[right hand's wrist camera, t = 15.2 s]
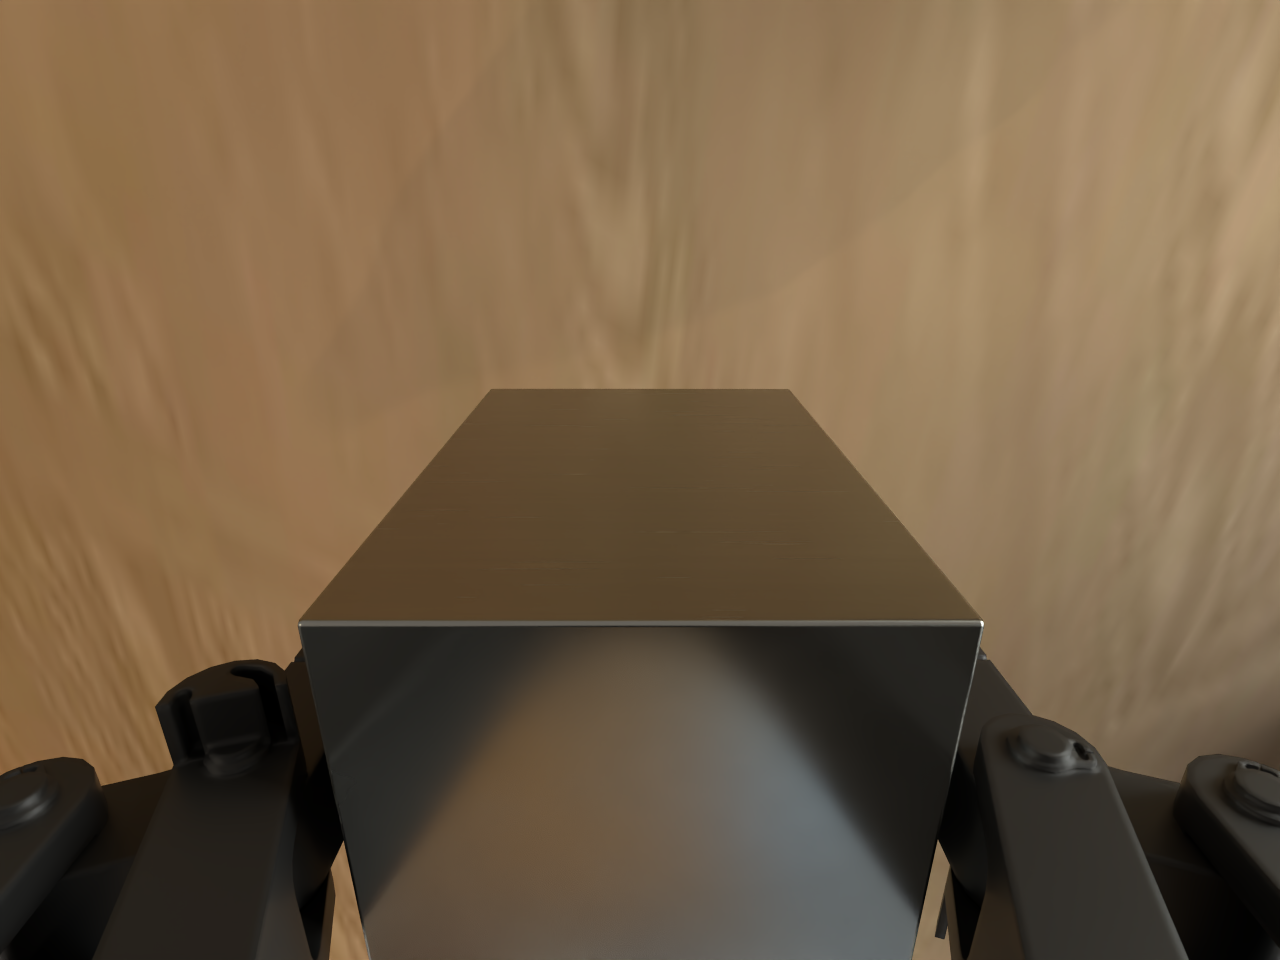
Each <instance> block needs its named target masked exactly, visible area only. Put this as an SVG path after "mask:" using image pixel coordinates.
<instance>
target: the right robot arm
mask: <svg viewBox="0 0 1280 960" xmlns="http://www.w3.org/2000/svg"><path fill="white" fill-rule="evenodd" d="M155 708H156V711H157V714H158V718H159V721H160V724H161V727H162V730H163V733H164V736H165V739H166V742H167V746H168V749H169V752H170V755H171V758H172V761H173V764H174V766H173V768H172V769H171V770H168V771H164V772H161V773H157V774H153V775H148V776H144V777H139V778H135V779H130V780H126V781H122V782H117V783H113V784H108V785H104V786H101V785H100V782H99V780H98V777H97V774H96V772H95V769H94V767H93V766H91V765H90V764H89V763H87V762H86V761H85V760H83V759H77V758H68V757H60V758H54V759H48V760H42V761H37V762H34V763H31V764H28V765H24V766H22V767H18V768H16V769H13V770H11V771H8V772H6V773H4V774H3V775H1V776H0V960H329V953H330V943H331V934H332V924H333V914H334V905H335V889H334V882H333V877H332V872H331V866H332V864H333V862H334V860H335V857H336V855H337V853H338V851H339V849H340V847H341V845H342V843H343V840H344V839H343V835H342V830H341V825H340V821H339V816H338V811H337V807H336V802H335V797H334V793H333V788H332V783H331V779H330V774H329V769H328V765H327V760H326V755H325V751H324V746H323V741H322V737H321V732H320V727H319V723H318V718H317V713H316V709H315V704H314V699H313V695H312V690H311V685H310V681H309V676H308V671H307V667H306V662H305V657H304V653H303V648H302V649H301V650H300V651H299V653H298V654H297V655H296V657H295V661H294V662H291V663H290V664H289V666H288V667H287V668H286V670H285V671H284V670H283V669H282V668H280V667H279V666H278V665H277V664H276V663H273V662H268V661H263V660H258V659H256V660H240V661H233V662H229V663H225V664H221V665H217V666H213V667H210V668H208V669H206V670H203V671H201V672H199V673H197V674H194V675H192V676H190V677H188V678H186V679H185V680H183V681H182V682H180V683H179V684H178V685H176V686H175V687H173V688H172V689H170V690H169V691H168V692H167V693H166V694H165V695H164V696H163V698H162V699H161V700H160V701H159V703H158V704H157V705H156V706H155ZM938 840H939V842H940V844H941V847H942V849H943V851H944V853H945V855H946V857H947V859H948V861H949V864H950V868H949V872H948V877H947V881H946V885H945V890H944V894H943V898H942V903H941V907H940V912H939V916H938V920H937V926H936V933H935V937H937V938H941V939H945V935H946V930H947V926H948V932H949V941H950V951H951V960H1280V772H1279V771H1278V770H1276V769H1273V768H1271V767H1268V766H1266V765H1263V764H1259V763H1258V762H1254V761H1251V760H1248V759H1245V758H1239V757H1233V756H1227V755H1221V754H1215V755H1206V756H1198V757H1197V758H1196V759H1195V760H1193V761H1192V762H1191V763H1189V764H1188V765H1187V768H1186V771H1185V773H1184V776H1183V779H1182V781H1181V783H1176V782H1172V781H1167V780H1163V779H1159V778H1154V777H1150V776H1145V775H1141V774H1136V773H1132V772H1127V771H1123V770H1119V769H1116V768H1112V767H1109V766H1107V764H1106V763H1105V761H1104V760H1103V759H1102V757H1101V756H1100V754H1099V753H1098V751H1097V750H1096V748H1095V747H1093V746H1092V745H1091V744H1090V743H1088V742H1087V741H1086V740H1085V739H1083V738H1082V737H1081V736H1080V735H1078V734H1077V733H1076V732H1074V731H1072V730H1070V729H1068V728H1066V727H1064V726H1062V725H1060V724H1058V723H1056V722H1054V721H1051V720H1047V719H1044V718H1040V717H1037V716H1033V715H1032V714H1031V712H1030V711H1029V710H1028V708H1027V707H1026V706H1025V705H1024V703H1023V702H1022V701H1021V699H1020V698H1019V697H1018V696H1017V694H1016V693H1015V692H1014V690H1013V689H1012V688H1011V687H1010V685H1009V684H1008V683H1007V681H1006V680H1005V679H1004V678H1003V676H1002V675H1001V674H1000V672H999V671H998V670H997V668H996V667H995V666H994V665H993V663H992V662H991V661H990V660H987V658H986V654H985V653H984V652H983V650H982V649H981V648H980V647H979V652H978V656H977V661H976V665H975V670H974V675H973V679H972V684H971V688H970V693H969V698H968V702H967V707H966V712H965V716H964V721H963V725H962V730H961V735H960V739H959V744H958V748H957V753H956V758H955V762H954V767H953V771H952V776H951V781H950V785H949V790H948V794H947V799H946V804H945V808H944V813H943V817H942V822H941V827H940V831H939V836H938Z"/></svg>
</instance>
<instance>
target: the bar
mask: <svg viewBox="0 0 1280 960" xmlns="http://www.w3.org/2000/svg"><path fill="white" fill-rule="evenodd" d="M298 629H299V634H300V639H301V643H302V648H303V653H304V657H305V662H306V667H307V671H308V676H309V681H310V685H311V690H312V695H313V699H314V704H315V709H316V713H317V718H318V723H319V727H320V732H321V737H322V741H323V746H324V751H325V755H326V760H327V765H328V769H329V774H330V779H331V783H332V788H333V793H334V797H335V802H336V807H337V811H338V816H339V821H340V825H341V830H342V835H343V839H344V844H345V849H346V854H347V858H348V863H349V868H350V872H351V877H352V882H353V886H354V891H355V896H356V900H357V905H358V910H359V914H360V919H361V924H362V928H363V933H364V938H365V942H366V947H367V952H368V956H369V960H912V956H913V951H914V946H915V942H916V937H917V933H918V928H919V923H920V919H921V914H922V910H923V905H924V900H925V896H926V891H927V886H928V882H929V877H930V873H931V868H932V863H933V859H934V854H935V850H936V845H937V840H938V836H939V831H940V827H941V822H942V817H943V813H944V808H945V804H946V799H947V794H948V790H949V785H950V781H951V776H952V771H953V767H954V762H955V758H956V753H957V748H958V744H959V739H960V735H961V730H962V725H963V721H964V716H965V712H966V707H967V702H968V698H969V693H970V688H971V684H972V679H973V675H974V670H975V665H976V661H977V656H978V652H979V647H980V642H981V638H982V633H983V629H984V623H983V620H982V619H981V618H980V616H979V615H978V614H977V613H976V612H975V610H974V609H973V608H972V607H971V606H970V604H969V603H968V602H967V601H966V600H965V598H964V597H963V596H962V595H961V594H960V593H959V591H958V590H957V589H956V588H955V587H954V585H953V584H952V583H951V582H950V581H949V579H948V578H947V577H946V576H945V575H944V573H943V572H942V571H941V570H940V569H939V567H938V566H937V565H936V564H935V563H934V561H933V560H932V559H931V558H930V557H929V556H928V554H927V553H926V552H925V551H924V550H923V548H922V547H921V546H920V545H919V544H918V542H917V541H916V540H915V539H914V538H913V536H912V535H911V534H910V533H909V532H908V530H907V529H906V528H905V527H904V526H903V525H902V523H901V522H900V521H899V520H898V519H897V517H896V516H895V515H894V514H893V513H892V511H891V510H890V509H889V508H888V507H887V505H886V504H885V503H884V502H883V501H882V499H881V498H880V497H879V496H878V495H877V494H876V492H875V491H874V490H873V489H872V488H871V486H870V485H869V484H868V483H867V482H866V480H865V479H864V478H863V477H862V476H861V474H860V473H859V472H858V471H857V470H856V468H855V467H854V466H853V465H852V464H851V463H850V461H849V460H848V459H847V458H846V457H845V455H844V454H843V453H842V452H841V451H840V449H839V448H838V447H837V446H836V445H835V443H834V442H833V441H832V440H831V439H830V437H829V436H828V435H827V434H826V433H825V432H824V430H823V429H822V428H821V427H820V426H819V424H818V423H817V422H816V421H815V420H814V418H813V417H812V416H811V415H810V414H809V412H808V411H807V410H806V409H805V408H804V406H803V405H802V404H801V403H800V402H799V400H798V399H797V398H796V397H795V396H794V395H793V393H792V392H791V391H790V390H789V389H491V390H490V391H489V392H488V393H487V395H486V396H485V397H484V398H483V399H482V401H481V402H480V403H479V404H478V405H477V407H476V408H475V409H474V410H473V411H472V413H471V414H470V415H469V416H468V417H467V419H466V420H465V421H464V422H463V423H462V425H461V426H460V427H459V428H458V429H457V431H456V432H455V433H454V434H453V435H452V437H451V438H450V439H449V440H448V441H447V443H446V444H445V445H444V446H443V448H442V449H441V450H440V451H439V452H438V454H437V455H436V456H435V457H434V458H433V460H432V461H431V462H430V463H429V464H428V466H427V467H426V468H425V469H424V470H423V472H422V473H421V474H420V475H419V476H418V478H417V479H416V480H415V481H414V482H413V484H412V485H411V486H410V487H409V488H408V490H407V491H406V492H405V493H404V494H403V496H402V497H401V498H400V499H399V500H398V502H397V503H396V504H395V505H394V506H393V508H392V509H391V510H390V511H389V512H388V514H387V515H386V516H385V517H384V519H383V520H382V521H381V522H380V523H379V525H378V526H377V527H376V528H375V529H374V531H373V532H372V533H371V534H370V535H369V537H368V538H367V539H366V540H365V541H364V543H363V544H362V545H361V546H360V547H359V549H358V550H357V551H356V552H355V553H354V555H353V556H352V557H351V558H350V559H349V561H348V562H347V563H346V564H345V565H344V567H343V568H342V569H341V570H340V571H339V573H338V574H337V575H336V576H335V577H334V579H333V580H332V581H331V582H330V583H329V585H328V586H327V587H326V588H325V590H324V591H323V592H322V593H321V594H320V596H319V597H318V598H317V599H316V600H315V602H314V603H313V604H312V605H311V606H310V608H309V609H308V610H307V611H306V612H305V614H304V615H303V616H302V617H301V618H300V620H299V622H298Z"/></svg>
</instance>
